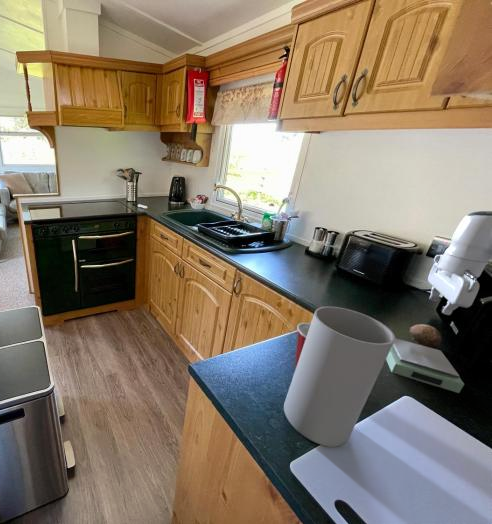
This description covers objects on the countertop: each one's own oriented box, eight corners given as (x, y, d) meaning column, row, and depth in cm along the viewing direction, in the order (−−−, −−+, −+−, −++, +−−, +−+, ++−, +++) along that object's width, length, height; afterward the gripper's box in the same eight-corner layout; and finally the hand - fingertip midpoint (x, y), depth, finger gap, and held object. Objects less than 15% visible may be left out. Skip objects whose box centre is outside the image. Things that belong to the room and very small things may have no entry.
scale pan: (439, 352, 84) (440, 350, 84) (458, 378, 74) (459, 376, 74) (388, 338, 89) (389, 336, 89) (399, 361, 79) (401, 359, 78)
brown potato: (410, 323, 99) (424, 316, 94) (435, 340, 96) (451, 334, 90) (398, 337, 97) (411, 331, 92) (423, 356, 94) (438, 350, 88)
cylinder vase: (331, 403, 68) (369, 311, 59) (360, 454, 56) (413, 350, 47) (276, 393, 69) (305, 302, 60) (293, 441, 58) (331, 338, 49)
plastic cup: (338, 375, 77) (353, 338, 73) (317, 390, 71) (332, 351, 67) (299, 351, 85) (310, 317, 81) (277, 363, 80) (288, 327, 75)
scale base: (437, 361, 86) (442, 352, 84) (459, 394, 74) (466, 383, 72) (379, 345, 91) (384, 336, 90) (391, 373, 79) (396, 362, 78)
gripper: (495, 281, 74) (468, 326, 80) (459, 258, 92) (439, 297, 97) (462, 274, 77) (439, 318, 82) (433, 254, 94) (415, 291, 99)
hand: (438, 306), depth 90 cm, fingers open, 8 cm apart
